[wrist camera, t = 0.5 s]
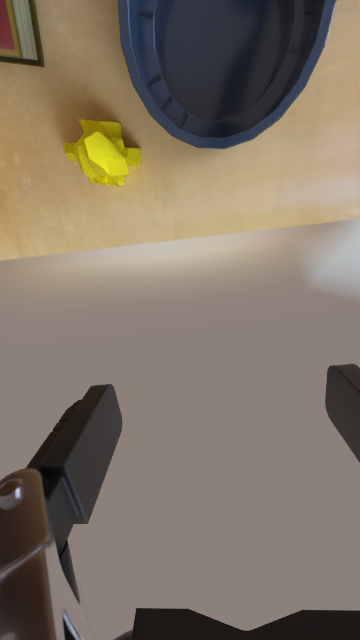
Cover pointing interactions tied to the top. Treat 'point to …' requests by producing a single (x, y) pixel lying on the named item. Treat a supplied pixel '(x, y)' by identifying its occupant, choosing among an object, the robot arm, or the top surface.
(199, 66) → the bowl
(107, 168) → the yellow faceted lump
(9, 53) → the hardcover book
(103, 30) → the top surface
